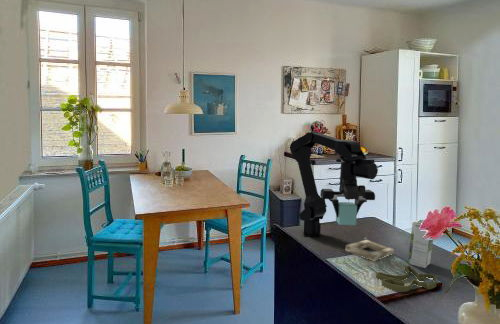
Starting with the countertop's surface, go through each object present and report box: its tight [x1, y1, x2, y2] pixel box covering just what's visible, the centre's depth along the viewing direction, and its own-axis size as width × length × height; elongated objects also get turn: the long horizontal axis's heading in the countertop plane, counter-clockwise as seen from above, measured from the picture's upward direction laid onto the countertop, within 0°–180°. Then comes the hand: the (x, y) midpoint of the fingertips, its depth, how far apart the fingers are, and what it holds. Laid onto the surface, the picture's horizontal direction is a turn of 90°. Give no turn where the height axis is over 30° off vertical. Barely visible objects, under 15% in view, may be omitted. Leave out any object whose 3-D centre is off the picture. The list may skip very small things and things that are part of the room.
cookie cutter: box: [375, 265, 438, 293], centre depth 111 cm, size 18×12×2 cm, turn 116°
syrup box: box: [407, 218, 434, 269], centre depth 124 cm, size 6×6×14 cm
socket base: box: [344, 236, 395, 262], centre depth 135 cm, size 13×13×2 cm
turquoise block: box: [335, 201, 358, 226], centre depth 138 cm, size 6×6×7 cm
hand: (346, 217), depth 138 cm, fingers closed on turquoise block, 6 cm apart
